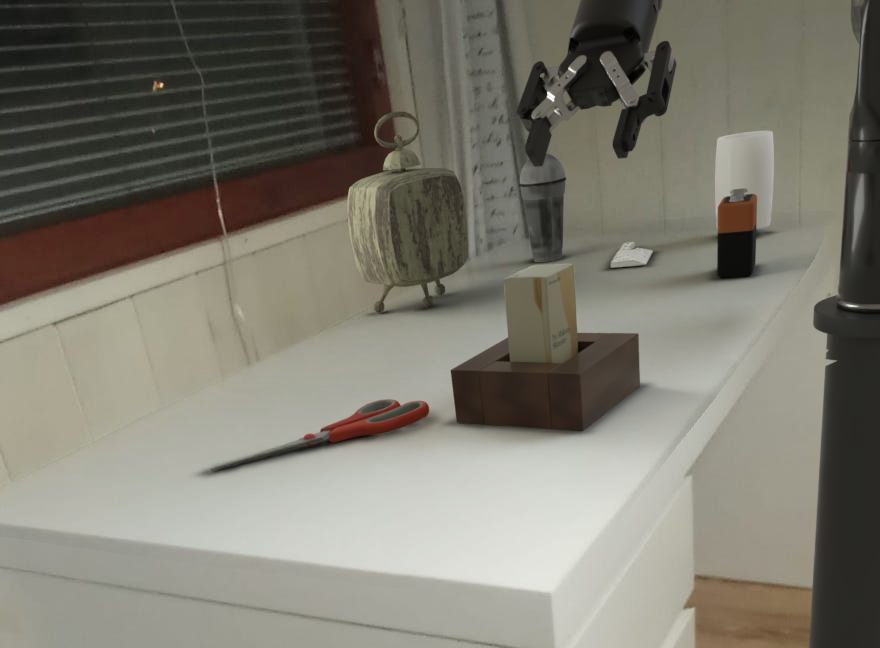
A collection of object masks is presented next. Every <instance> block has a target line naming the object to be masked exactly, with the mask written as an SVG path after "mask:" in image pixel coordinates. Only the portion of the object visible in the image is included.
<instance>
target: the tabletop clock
mask: <svg viewBox="0 0 880 648" xmlns="http://www.w3.org/2000/svg"><path fill="white" fill-rule="evenodd" d="M394 118H405V119H408V120H410V121H412V123H413V124H414V127H415V132H414V133H413V134H412V135H411V136H410V137H408V138H407V139H404V140H403V137H402V136H401V135H399V134H396V135H395V136H394V137H393V139H394V142H387V141H384V140H382V139H380V137H379V130H380V128H381V126H382V125H383V124H384V123H385V122H386V121H388V120H392V119H394ZM419 132H420V124H419V122H418V120H417V118H416V117H415V116H414V115H413V114H412V113H410V112H408V111H392V112H389V113H387V114H384V115H383V116H381V118H379V119H378V121H377V123H376V124H375V127H374V138H375V141H376V142H377V143H378V144H379V145H380V146H381V147H383V148H387V149H395V150H393V151H390V153H388V154H387V156H386V157H385V159H384V163H383V166H382V171H383V172H380V173H376V174H372V175H370V176H365V177H364V178H361V179H359V180H358V181H356V182H354V183H353V184H352V185H350V187H349V189H348V194H347V209H346V210H347V213H346V214H347V222H348V232H349V233H348V234H349V240H350V245H351V249H352V253H353V258H354V262H355V264H356V265H355V266H356V268H357V271H358V273H359V275H360V277H361V279H362V280H363V282H366V283H371V284H376V285H383V289H382V293H381V295H380V298H379V300H376V301H375V302H373V308H372V309H373V310H374V311H375V312H376V313H379V314H380V313H382V312H383V311H384V310H385V303H384V302H385V299H386V298H387V296H388V294H389V292H390V291H391V290H392V289H393V288H395V287H397V288H408V287H414V286H419V285H420V286H421V289H422V291H423V294H424V297H423V299H422V304H423V306H424V307H425V308H428V309H429V308H432V307H433V306H434V305H435V297H433V296H432V295H430V294H429V288H428V284H430V283H433V282H434V283H435V284H436V285H435V286H434V293H435V294H436V295H437V296H442V295H444V294H445V293H446V286H445V285H444V284H443V283H441V279H444V278H447V277H449V276H451V275H453V274H455V273H457V272H458V271H459V270H460V269H462V267H464V266H465V264H466V263H467V260H468V254H469V237H468V234H469V233H468V218H467V212H466V205H465V199H464V193H463V189H462V185H461V183H460V181H459V179H458V177H457V175H456V173H455V171H454V170H451V169H448V168H445V167H425V168H423V167H422V168H421V167H420V168H414V167H417V166H420V165H421V162H420V158H419V157H418V156H417V154H416V153H415V152H414V151H413V150H411V149H407V148H406V149H405V148H404V147H405V146H409V145H410V144H411V143H413V142H414V141H415V140H416V139H417V137H418V135H419Z"/></svg>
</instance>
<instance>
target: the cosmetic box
mask: <svg viewBox="0 0 880 648" xmlns="http://www.w3.org/2000/svg"><path fill="white" fill-rule="evenodd" d="M502 280H503V291H504V301H505V303H504V304H505V315H506V316H505V317H506V326H507V327H506V328H507V338H508V340H509V353H510V362H538V363H564V362H566V361H567V360H569V359H570V358H572V357H573V356H575V355H576V354H578V336H577V333H578V322H577V321H578V320H577V302H576V299H577V297H576V283H575V280H576V279H575V264H574V263H545V264H541V263H540V264H532V265H530V266H528V267H526V268H524V269H521V270H518V271H516V272H514V273H513V274H511V275H509V276H506V277H504V278H503V279H502Z"/></svg>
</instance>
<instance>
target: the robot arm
mask: <svg viewBox="0 0 880 648" xmlns="http://www.w3.org/2000/svg"><path fill="white" fill-rule="evenodd" d="M662 8H663V0H580V1H579V4H578V8H577V11H576V14H575V18H574V21H573V24H572V27H571V31H570V34H569V38H568V47H567V54H566V56H565V57H564V59H563V61H562V62H560V64H559V66H552V67H546V65H545V63H544V62H543V61H541V60H539V61H537V62H535V63H534V64H533V66H532V67H531V70H530V73H529V76H528V79H527V81H526V84H525V86H524V89H523V92H522V95H521V98H520V99H519V100H520V101H519V103H518V106H517V108H516V114H517V116H518V118H519V119H520V121H521V123H522V124H523V127H524V128H525V130H526V131H527V132H528V135H527V139H526V141H525V145H524V152H525V154H526V156H527V157H528V160H529V159H530V161H531V162H532V164H533V166H534V167H539V166H542V165H543V163H544V160H545V156H546V154H548V153H547V152H548V149H549V145H550V143H551V139H552V136H553V134H552V132H553V131H554V130H555V129H556V128H557V127H558V126H559V125H560V124H561V123H562V122H563V121H566V122H567V121H569V120H570V119H571V118H572V117H573V116H574V115H576V113H578V112H579V110H581V111H583V110H589V109H591V108H594V107H602V108H603V107H604V108H605V107H611V106H612V105H613V103H616V102H617V101H618V100H619V102H620V104H621V105H622V107H623V108H622V109H621V111H620V114H619V117H618V121H617V125H616V128H615V132H614V135H613V138H612V149H613V151H614V153H615V155H616V157H617V159H618V160H620V159H627V158H628V156H629V153H630V152H633V150H634V149H635V148H636V145H637V142H638V138H639V134H640V131H641V127H642V124H643V123H644V122H646V120H647V118H648V117H650V116H655V117H661V116H664V115H665V114H666V113H667V111H668V107H669V102H670V98H671V93H672V88H673V83H674V79H675V74H676V69H677V64H678V63H677V61H676V57H675V55H674V52H673V49H672V47H671V44H670V42H669V41H668V40H663V41H661V42H659V43H658V44H657V45H656V47H655V50H652V51H649V50H650V47H651V43H652V39H653V36H654V32H655V29H656V25H657V22H658V19H659V15H660V12H661V10H662ZM850 24H851V30H852V33H853V36H854V39H855V40H856V42H857V43H858V46H859V47H858V48H859V49H858V59H857V72H856V73H857V74H856V84H855V85H856V87H855V93H854V99H853V103H852V107H851V109H850V113H849V117H848V131H847V146H846V147H847V150H846V151H847V152H846V165H845V179H844V180H845V182H844V197H843V211H842V212H843V213H842V226H841V227H842V228H841V243H840V257H839V274H838V286H837V295H838V296H837V307H838V308H839V309H841V310H844V311H848V312H853V313H865V314H880V0H851V1H850ZM647 70H649V73H650V74H649V75H650V76H649V80H648V85H647V89H646V93H644V94H642V95H640V96H639V95H638V93H637V91H636V90H635V89H634V86H633V85H634V84H635V83H636V82H637V81H638V80H639V79H641V77H642V76H643V75H644V74H645V73H646V71H647ZM565 92H566V93H567V95H568V97H569V99H570V100H569V101H568V102H567V103H566V102H565V100H564V97H563V96H564V94H565ZM553 109H554V111H553V112H552V113H551V111H552V110H553ZM550 113H551V114H550ZM549 114H550V115H549ZM547 115H549V116H547Z"/></svg>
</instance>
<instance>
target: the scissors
mask: <svg viewBox="0 0 880 648" xmlns="http://www.w3.org/2000/svg"><path fill="white" fill-rule="evenodd" d="M429 413H430V406H429V404H428V403H427V402H426V401H424V400H413V401H409V402H406V403H404V404H402V405H401V403H400V402H399V401H398V400H396V399H391V398H390V399H388V398H387V399H379V400H374V401H372V402H369V403H367V404H365V405H363V406H361V407H359V408H358V409H357V410H356V411H355V412H354V413H353V414H351V415H350V416H348V417H346V418H344V419H341V420H338V421H336V422H334V423H330V424H329V425H328V424H327V425H326V426H323V427H322V428H320V431H319V432H316V433H306V434H305V435H304V436H302V437H300V438H298V439H296V440H294V441H291V442H288V443H284V444H282V445H278V446H275V447H272V448H269V449H266V450H263V451H259V452H257V453H254V454H253V453H252V454H250V455H247V456H244V457H241V458H238V459H235V460H232V461H229V462H226V463H223V464H219V465H217V466H214V467H211V468H210V471H216V470H219V469H223V468H227V467H230V466H234V465H237V464H241V463H245V462H248V461H252V460H256V459H260V458H265V457H267V456H272V455H276V454H279V453H283V452H286V451H290V450H295V449H298V448H299V449H300V448H307V447H309V448H310V447H314V446H316V445H317V444H319V443H323V442H327V441H329V443H333V444H334V443H338V442H341V441H346V440H349V439H353V438H358V437H364V436H376V435H382V434H386V433H389V432H393V431H396V430H400V429H402V428H405V427H407V426H410V425H412V424H414V423H417V422H419V421H421V420H422V419H425V418H426V417H427V416H428V415H429Z"/></svg>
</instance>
